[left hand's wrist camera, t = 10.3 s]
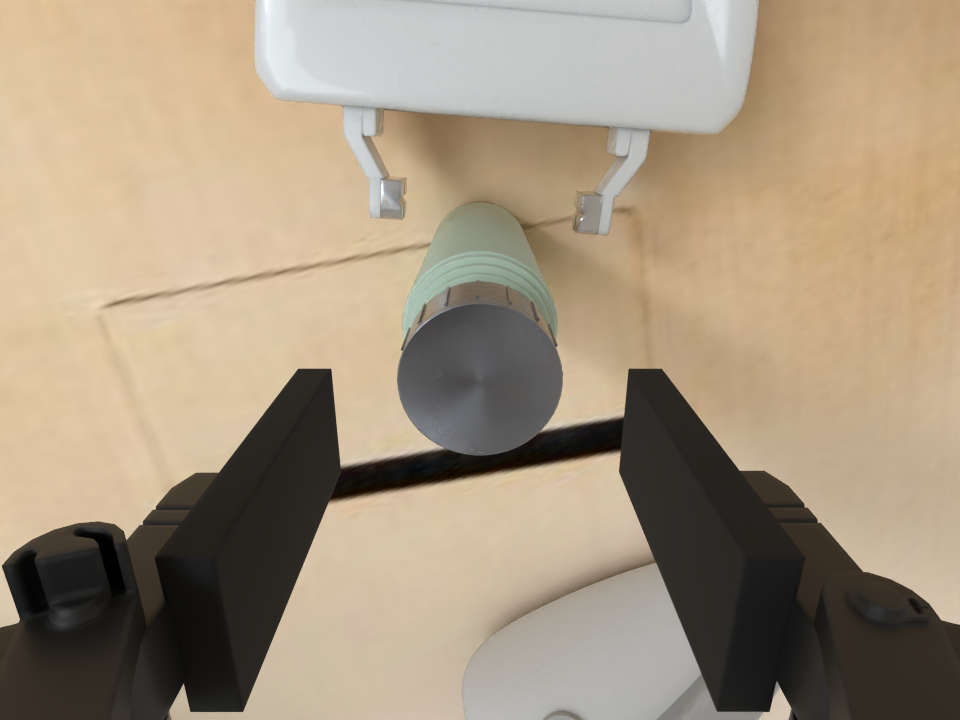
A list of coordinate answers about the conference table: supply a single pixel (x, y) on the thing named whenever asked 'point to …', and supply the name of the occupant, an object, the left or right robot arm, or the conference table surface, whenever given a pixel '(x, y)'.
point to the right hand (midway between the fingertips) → (489, 225)
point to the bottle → (479, 259)
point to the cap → (480, 369)
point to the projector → (593, 660)
